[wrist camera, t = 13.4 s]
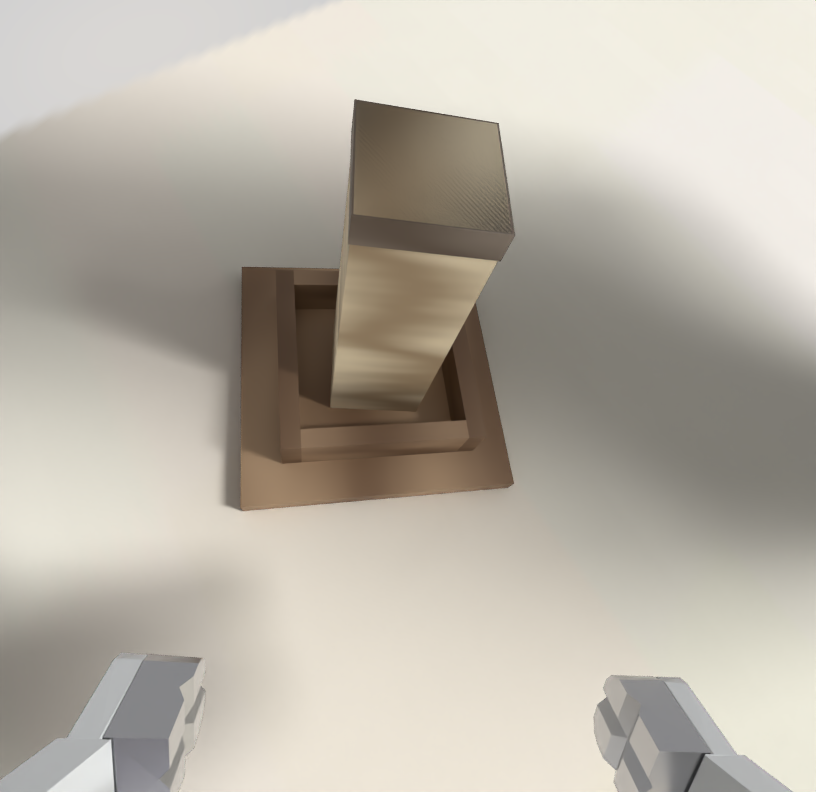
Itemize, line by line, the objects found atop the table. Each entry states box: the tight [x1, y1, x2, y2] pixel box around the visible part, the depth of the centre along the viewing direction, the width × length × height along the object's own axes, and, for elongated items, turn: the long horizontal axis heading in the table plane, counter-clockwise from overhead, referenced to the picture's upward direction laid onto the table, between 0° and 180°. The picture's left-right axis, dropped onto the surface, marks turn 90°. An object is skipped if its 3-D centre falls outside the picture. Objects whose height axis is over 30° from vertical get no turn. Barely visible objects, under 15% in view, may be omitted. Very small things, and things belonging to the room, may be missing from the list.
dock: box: [240, 267, 514, 511], centre depth 23 cm, size 12×12×3 cm
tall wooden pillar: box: [330, 100, 515, 412], centre depth 18 cm, size 4×4×12 cm
